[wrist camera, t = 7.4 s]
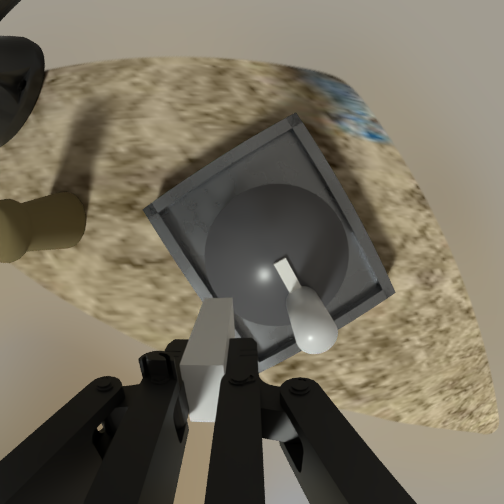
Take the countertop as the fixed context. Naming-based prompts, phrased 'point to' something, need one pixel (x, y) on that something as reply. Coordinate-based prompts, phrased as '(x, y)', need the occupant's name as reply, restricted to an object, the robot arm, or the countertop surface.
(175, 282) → the countertop surface
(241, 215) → the lever
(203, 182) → the dark grey tray
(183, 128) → the countertop surface
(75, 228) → the cork
